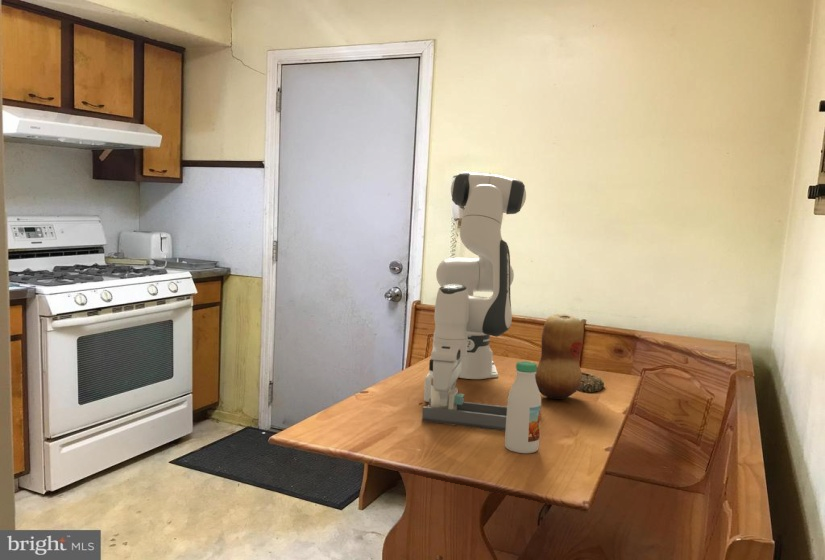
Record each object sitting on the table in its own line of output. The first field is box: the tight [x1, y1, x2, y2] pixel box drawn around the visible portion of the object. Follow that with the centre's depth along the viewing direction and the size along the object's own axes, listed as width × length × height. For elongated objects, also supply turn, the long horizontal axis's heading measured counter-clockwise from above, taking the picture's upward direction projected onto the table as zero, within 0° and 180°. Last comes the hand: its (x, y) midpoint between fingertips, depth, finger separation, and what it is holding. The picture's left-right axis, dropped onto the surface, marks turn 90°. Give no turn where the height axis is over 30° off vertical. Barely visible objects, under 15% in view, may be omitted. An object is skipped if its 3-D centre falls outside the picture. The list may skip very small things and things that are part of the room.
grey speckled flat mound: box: [576, 371, 605, 394], centre depth 205 cm, size 13×12×5 cm
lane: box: [421, 398, 507, 432], centre depth 165 cm, size 9×24×8 cm, turn 76°
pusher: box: [448, 387, 465, 410], centre depth 166 cm, size 6×3×6 cm, turn 166°
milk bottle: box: [504, 360, 542, 454], centre depth 147 cm, size 8×8×20 cm
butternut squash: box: [535, 313, 585, 400], centre depth 189 cm, size 14×13×25 cm
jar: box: [431, 378, 451, 409], centre depth 167 cm, size 5×5×9 cm
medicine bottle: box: [423, 358, 434, 403], centre depth 183 cm, size 7×7×12 cm
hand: (447, 399), depth 167 cm, fingers open, 8 cm apart
